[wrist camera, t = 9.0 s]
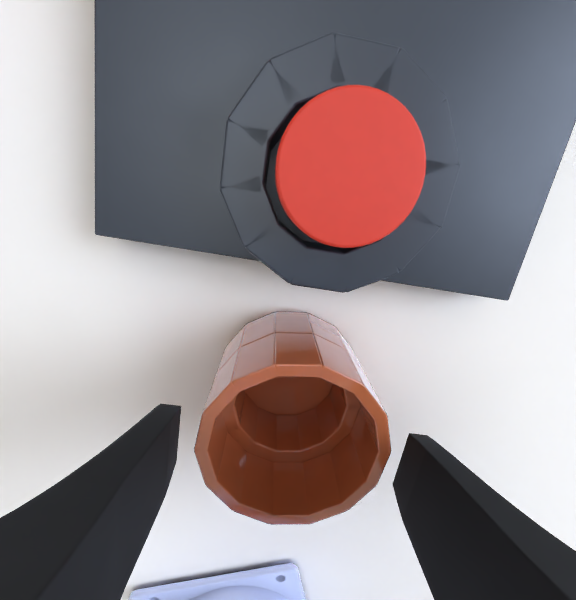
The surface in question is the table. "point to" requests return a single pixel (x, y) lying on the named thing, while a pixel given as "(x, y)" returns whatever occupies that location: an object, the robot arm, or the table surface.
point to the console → (306, 85)
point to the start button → (350, 166)
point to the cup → (291, 423)
